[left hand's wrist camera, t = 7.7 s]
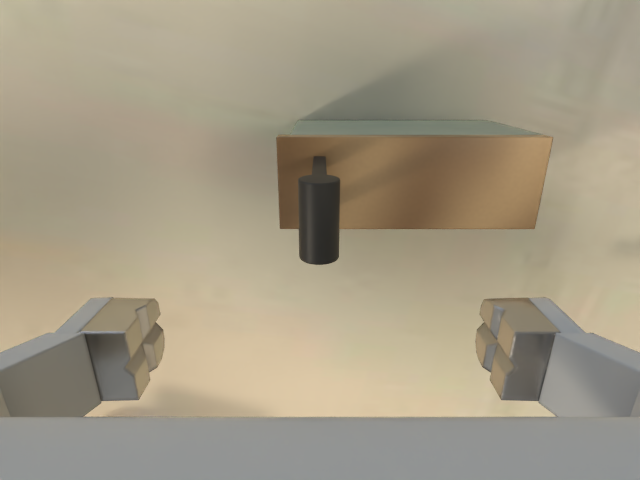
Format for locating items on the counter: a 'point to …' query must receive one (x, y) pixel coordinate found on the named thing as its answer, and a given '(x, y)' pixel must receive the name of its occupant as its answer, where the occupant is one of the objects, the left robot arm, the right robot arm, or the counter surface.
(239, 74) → the counter surface
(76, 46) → the counter surface
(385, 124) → the chest
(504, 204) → the lid
